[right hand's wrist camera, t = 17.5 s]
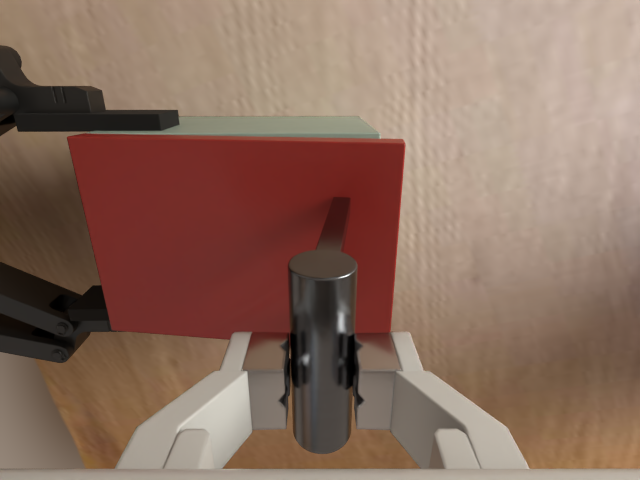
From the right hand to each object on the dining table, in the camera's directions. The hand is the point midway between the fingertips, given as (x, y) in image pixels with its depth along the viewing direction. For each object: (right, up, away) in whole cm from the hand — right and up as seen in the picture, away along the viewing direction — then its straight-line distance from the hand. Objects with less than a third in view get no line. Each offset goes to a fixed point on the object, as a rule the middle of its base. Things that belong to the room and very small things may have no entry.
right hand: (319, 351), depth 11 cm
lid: (-3, +3, +7) cm, 9 cm away
